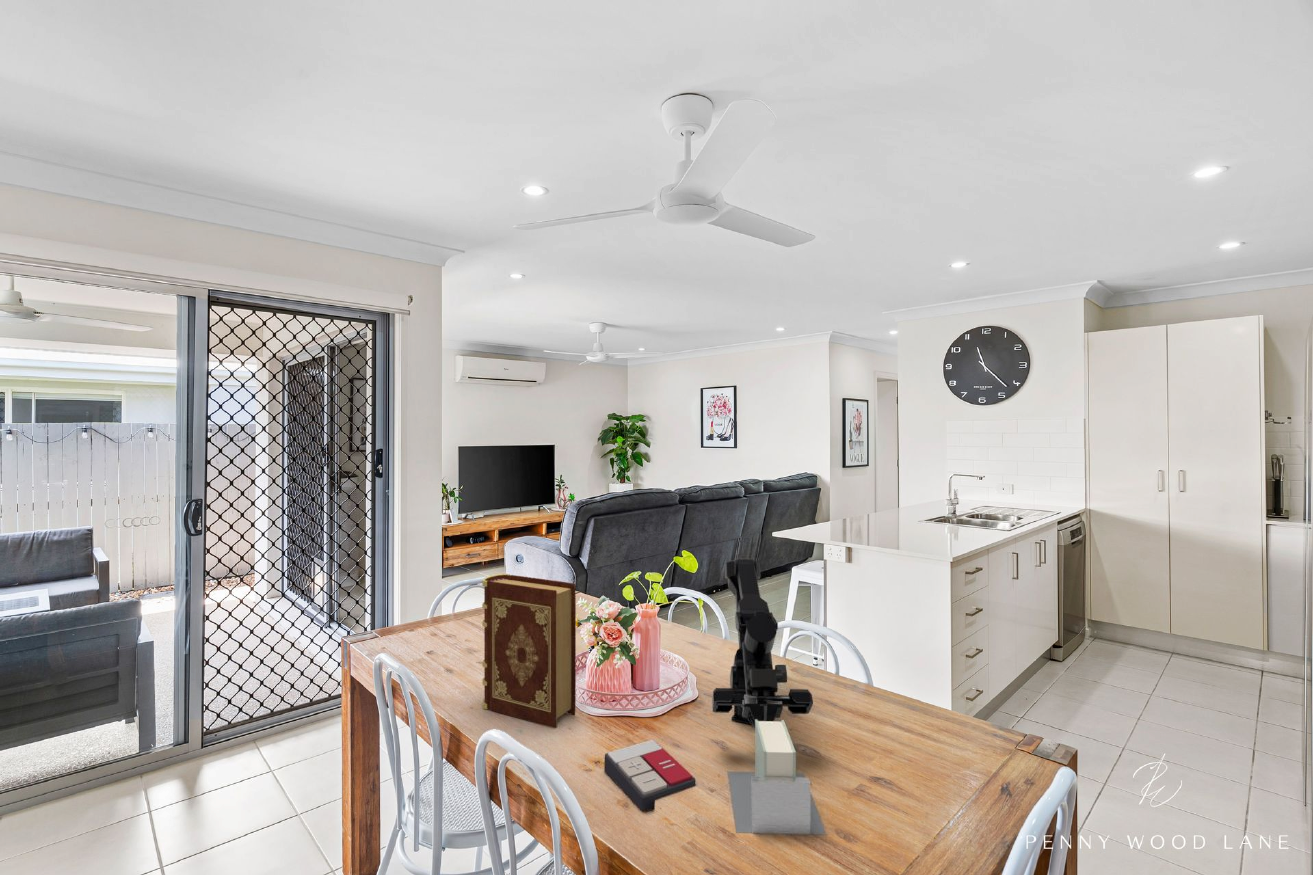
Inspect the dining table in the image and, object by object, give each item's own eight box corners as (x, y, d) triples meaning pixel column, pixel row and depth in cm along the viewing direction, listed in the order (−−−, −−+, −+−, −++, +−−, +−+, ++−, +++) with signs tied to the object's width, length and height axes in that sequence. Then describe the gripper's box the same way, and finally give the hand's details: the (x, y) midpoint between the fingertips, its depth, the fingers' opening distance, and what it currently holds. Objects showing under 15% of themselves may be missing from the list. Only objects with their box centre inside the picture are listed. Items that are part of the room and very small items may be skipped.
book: (755, 787, 109) (755, 719, 108) (783, 787, 108) (783, 719, 108) (763, 826, 98) (763, 751, 98) (795, 827, 97) (795, 751, 97)
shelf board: (727, 779, 114) (727, 771, 114) (803, 780, 113) (803, 772, 113) (736, 841, 96) (736, 832, 96) (826, 843, 96) (826, 834, 96)
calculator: (643, 793, 104) (603, 749, 116) (642, 818, 104) (603, 771, 117) (696, 775, 109) (653, 735, 122) (696, 798, 109) (653, 756, 122)
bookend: (751, 826, 98) (751, 776, 98) (808, 827, 97) (808, 777, 97) (752, 832, 96) (752, 781, 96) (810, 834, 96) (810, 782, 96)
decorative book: (477, 707, 144) (477, 579, 144) (500, 694, 151) (500, 572, 151) (554, 729, 133) (554, 590, 133) (576, 714, 140) (576, 582, 140)
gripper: (713, 646, 118) (716, 732, 107) (811, 648, 117) (824, 734, 107) (710, 671, 126) (713, 752, 115) (802, 672, 126) (814, 754, 115)
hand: (765, 748), depth 113 cm, fingers closed
